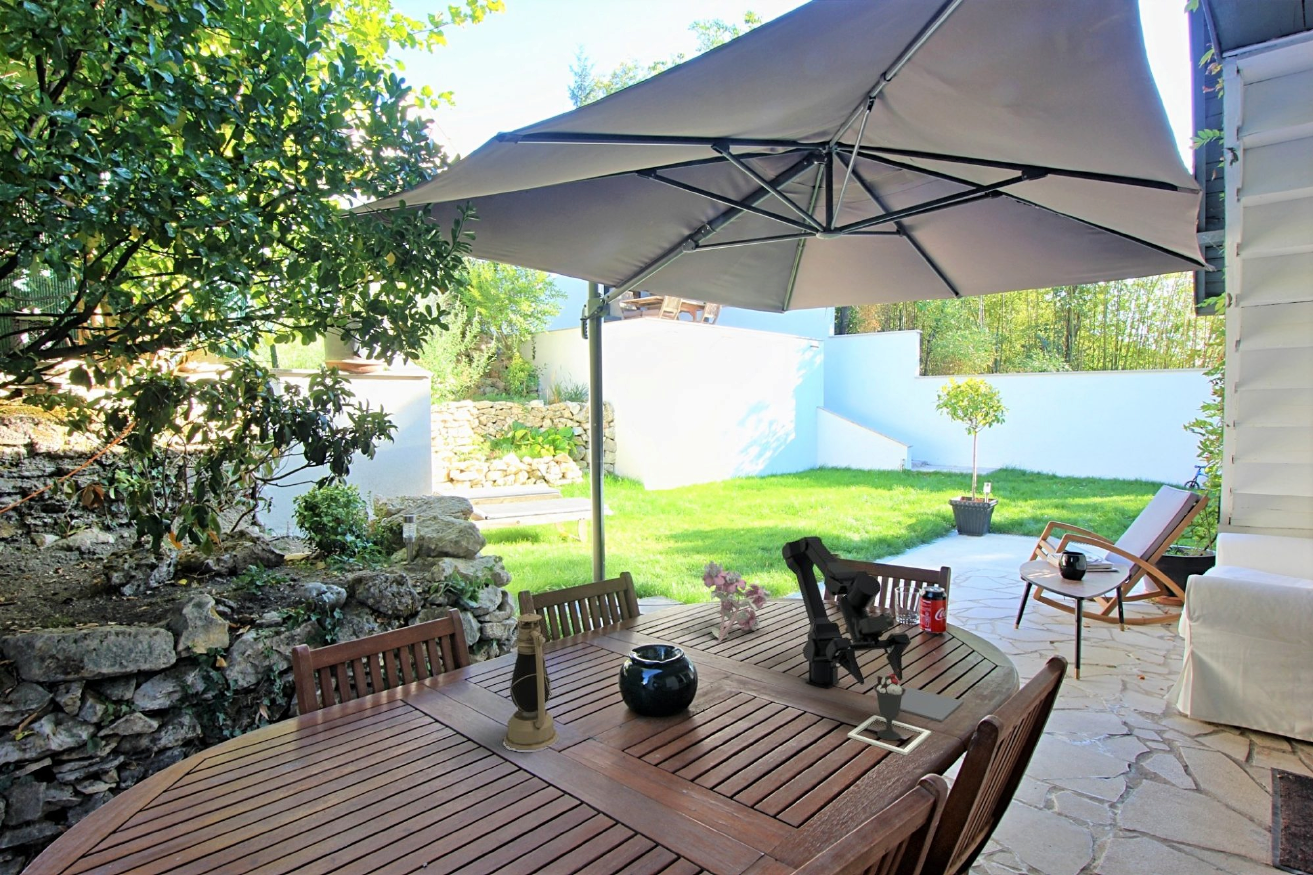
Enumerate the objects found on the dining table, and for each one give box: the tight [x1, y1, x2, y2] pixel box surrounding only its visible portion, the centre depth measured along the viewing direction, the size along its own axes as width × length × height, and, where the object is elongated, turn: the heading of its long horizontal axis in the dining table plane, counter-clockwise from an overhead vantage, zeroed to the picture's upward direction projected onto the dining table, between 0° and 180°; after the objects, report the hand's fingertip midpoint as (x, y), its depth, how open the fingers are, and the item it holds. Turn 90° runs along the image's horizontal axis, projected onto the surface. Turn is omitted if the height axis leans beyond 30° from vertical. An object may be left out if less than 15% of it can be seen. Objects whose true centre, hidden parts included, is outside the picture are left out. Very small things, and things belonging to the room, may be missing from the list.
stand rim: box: [847, 714, 932, 756], centre depth 157 cm, size 13×13×1 cm
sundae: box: [872, 669, 906, 741], centre depth 157 cm, size 7×7×15 cm
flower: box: [701, 559, 772, 643], centre depth 228 cm, size 20×22×25 cm
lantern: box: [503, 600, 558, 750], centre depth 156 cm, size 14×12×30 cm
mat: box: [900, 686, 964, 723], centre depth 174 cm, size 14×14×1 cm
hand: (882, 681), depth 160 cm, fingers open, 9 cm apart
